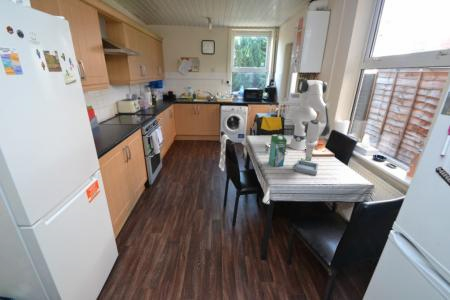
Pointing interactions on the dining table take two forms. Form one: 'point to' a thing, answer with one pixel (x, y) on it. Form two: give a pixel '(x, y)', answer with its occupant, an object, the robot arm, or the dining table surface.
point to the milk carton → (277, 150)
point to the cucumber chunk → (309, 159)
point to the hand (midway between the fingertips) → (308, 158)
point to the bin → (306, 167)
